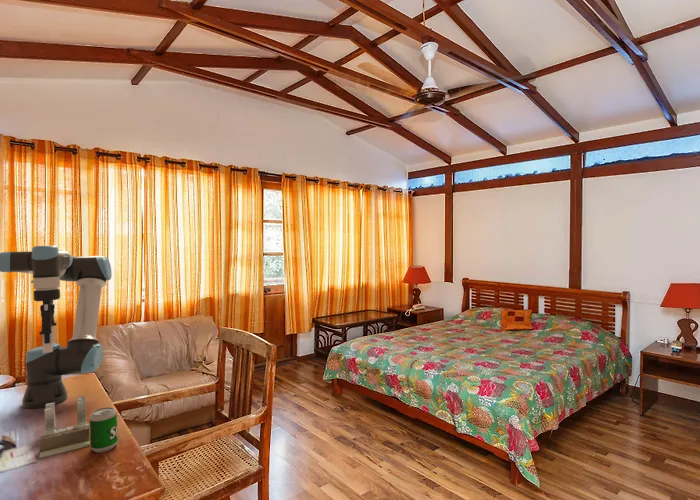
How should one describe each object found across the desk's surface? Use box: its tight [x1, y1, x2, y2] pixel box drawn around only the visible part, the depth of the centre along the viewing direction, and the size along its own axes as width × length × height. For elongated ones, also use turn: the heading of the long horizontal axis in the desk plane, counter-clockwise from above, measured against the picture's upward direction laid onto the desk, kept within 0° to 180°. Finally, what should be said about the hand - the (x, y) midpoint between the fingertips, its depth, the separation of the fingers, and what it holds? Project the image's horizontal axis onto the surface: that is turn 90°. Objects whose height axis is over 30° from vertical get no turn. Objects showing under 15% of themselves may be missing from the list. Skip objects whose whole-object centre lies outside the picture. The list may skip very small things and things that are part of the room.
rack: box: [43, 395, 90, 436], centre depth 141 cm, size 7×13×10 cm, turn 123°
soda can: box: [89, 406, 119, 453], centre depth 130 cm, size 8×8×12 cm
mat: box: [38, 439, 91, 459], centre depth 131 cm, size 7×13×1 cm, turn 123°
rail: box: [39, 424, 90, 453], centre depth 131 cm, size 13×3×4 cm, turn 123°
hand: (49, 348), depth 145 cm, fingers open, 13 cm apart
